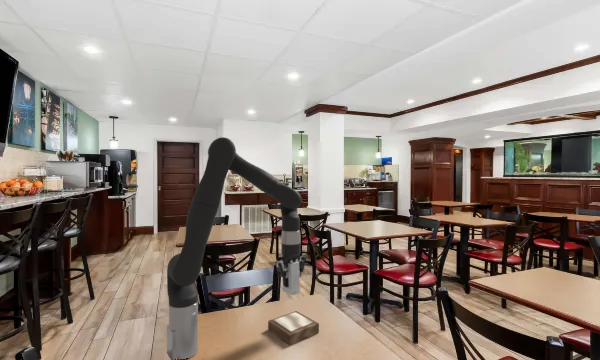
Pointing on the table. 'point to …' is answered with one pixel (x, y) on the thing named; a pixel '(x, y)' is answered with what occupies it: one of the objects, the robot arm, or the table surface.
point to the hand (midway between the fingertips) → (291, 285)
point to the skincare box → (293, 279)
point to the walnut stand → (293, 327)
